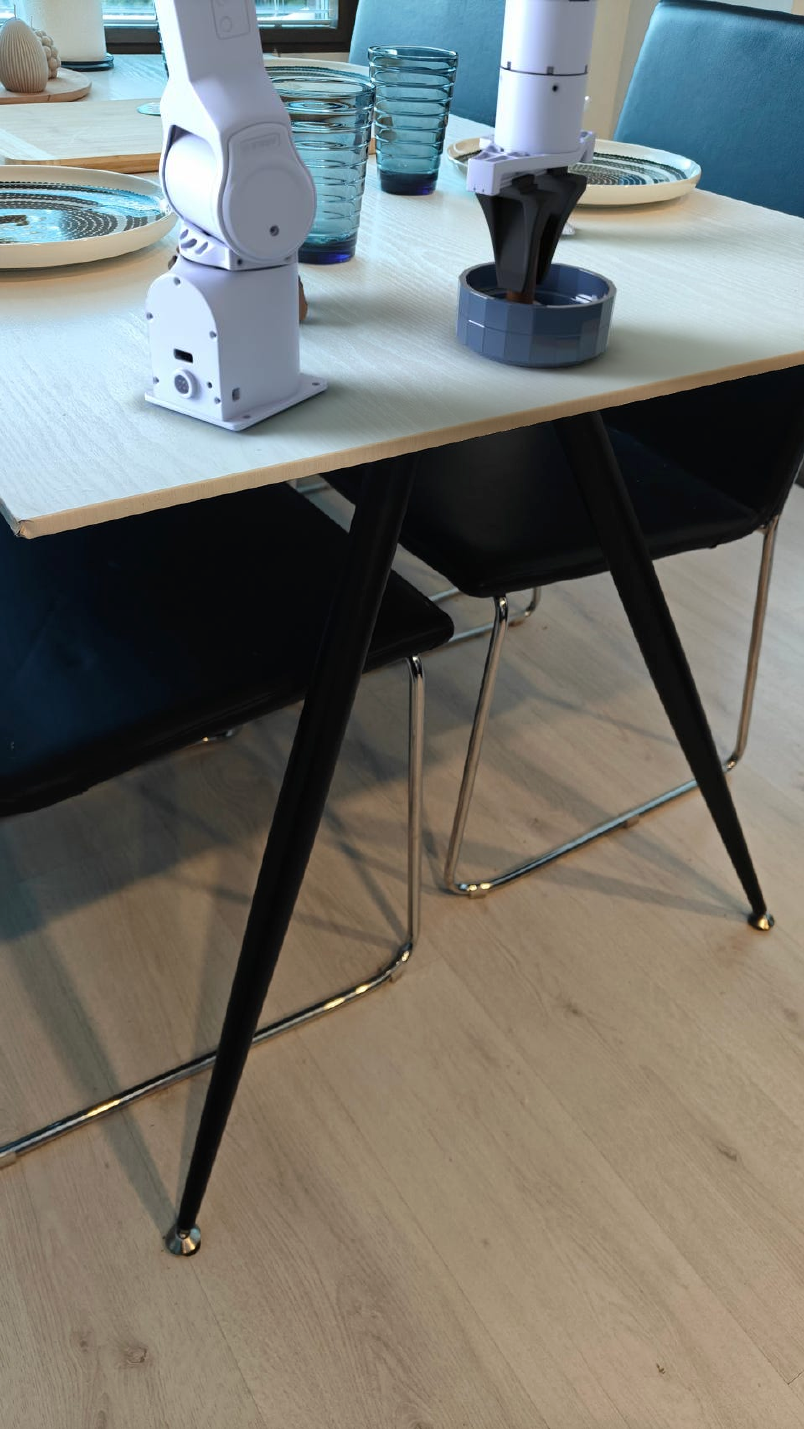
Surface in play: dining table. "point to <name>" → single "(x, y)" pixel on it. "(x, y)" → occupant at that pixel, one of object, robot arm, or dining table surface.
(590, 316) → the bowl
